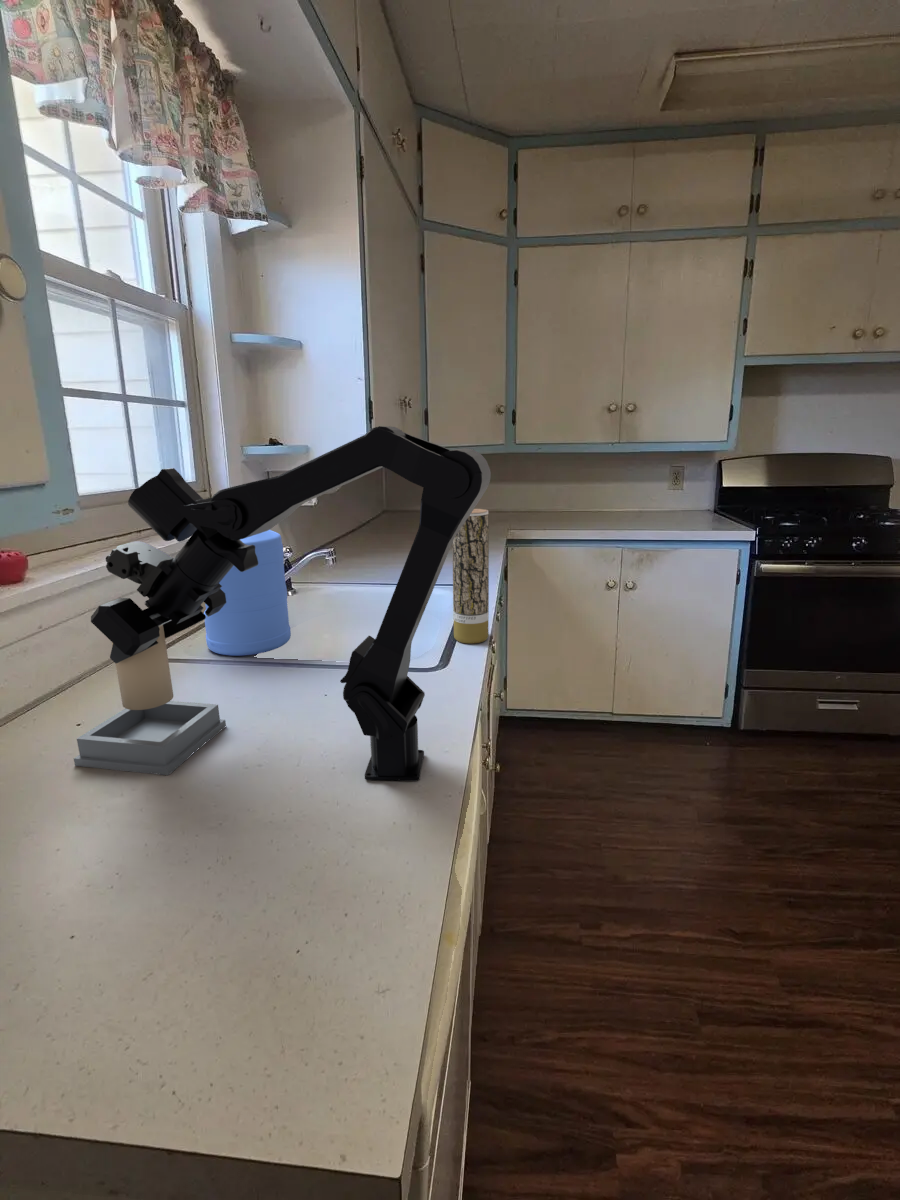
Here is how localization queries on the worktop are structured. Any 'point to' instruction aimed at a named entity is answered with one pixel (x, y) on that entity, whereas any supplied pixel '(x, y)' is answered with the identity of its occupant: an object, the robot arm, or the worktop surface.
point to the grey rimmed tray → (149, 738)
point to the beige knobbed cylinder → (146, 677)
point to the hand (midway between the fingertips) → (131, 651)
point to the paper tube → (471, 579)
